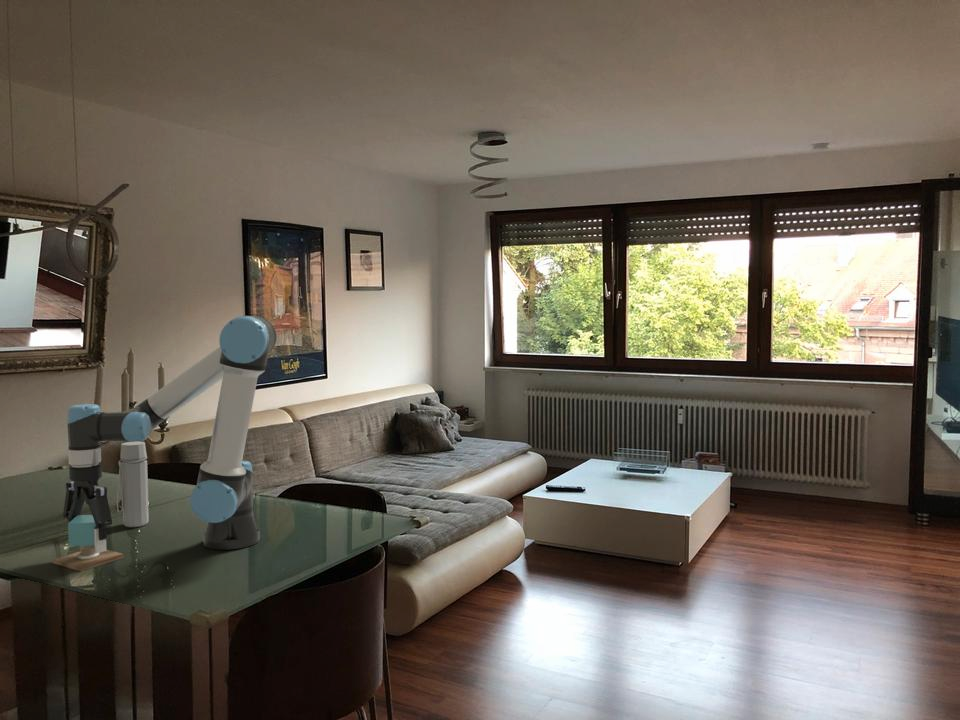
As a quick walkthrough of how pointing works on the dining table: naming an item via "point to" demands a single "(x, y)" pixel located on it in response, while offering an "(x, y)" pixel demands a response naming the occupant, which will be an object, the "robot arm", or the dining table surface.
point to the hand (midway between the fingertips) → (88, 548)
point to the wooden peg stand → (87, 558)
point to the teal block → (81, 531)
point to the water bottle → (133, 484)
